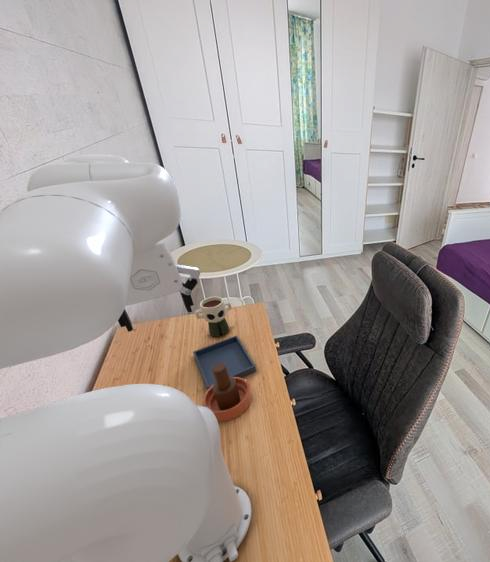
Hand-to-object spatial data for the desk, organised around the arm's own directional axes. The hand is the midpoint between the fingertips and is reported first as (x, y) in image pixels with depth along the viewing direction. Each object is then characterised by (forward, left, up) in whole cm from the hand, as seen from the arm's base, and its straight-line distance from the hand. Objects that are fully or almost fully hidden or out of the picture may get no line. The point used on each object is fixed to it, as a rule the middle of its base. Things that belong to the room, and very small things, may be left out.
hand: (160, 317), depth 55 cm
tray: (+16, -10, -33) cm, 38 cm away
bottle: (+1, -7, -33) cm, 33 cm away
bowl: (+1, -7, -33) cm, 34 cm away
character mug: (+33, -13, -33) cm, 49 cm away
